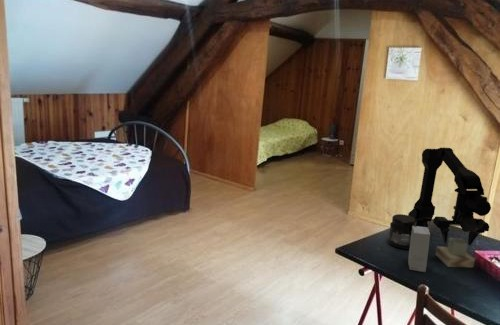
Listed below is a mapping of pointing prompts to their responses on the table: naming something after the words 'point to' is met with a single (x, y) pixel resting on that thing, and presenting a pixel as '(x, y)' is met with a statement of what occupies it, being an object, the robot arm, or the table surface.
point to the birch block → (454, 258)
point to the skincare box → (419, 248)
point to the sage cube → (457, 246)
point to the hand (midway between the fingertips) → (457, 244)
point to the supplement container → (401, 231)
